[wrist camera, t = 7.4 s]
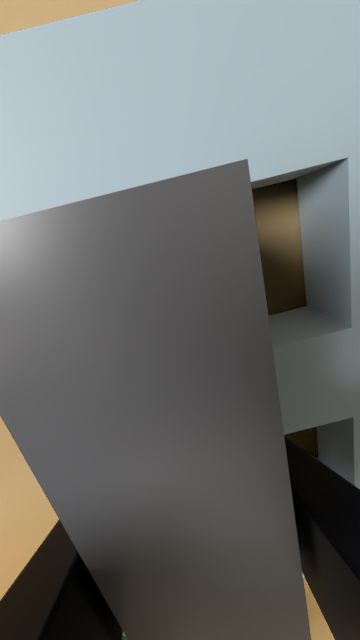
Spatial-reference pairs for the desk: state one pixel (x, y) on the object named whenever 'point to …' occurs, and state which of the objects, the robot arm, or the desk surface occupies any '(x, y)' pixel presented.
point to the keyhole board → (212, 150)
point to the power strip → (156, 404)
